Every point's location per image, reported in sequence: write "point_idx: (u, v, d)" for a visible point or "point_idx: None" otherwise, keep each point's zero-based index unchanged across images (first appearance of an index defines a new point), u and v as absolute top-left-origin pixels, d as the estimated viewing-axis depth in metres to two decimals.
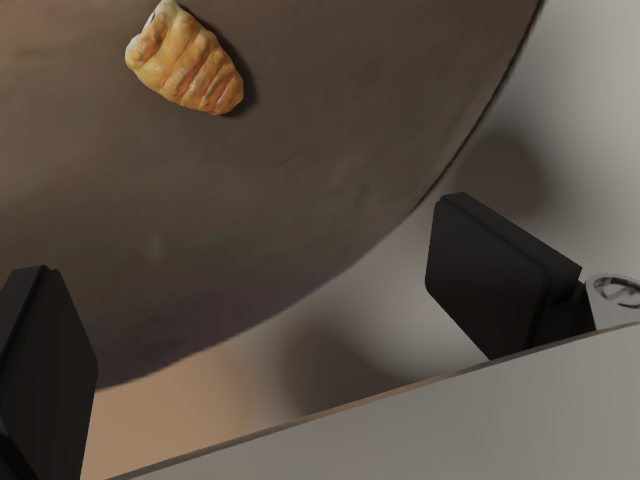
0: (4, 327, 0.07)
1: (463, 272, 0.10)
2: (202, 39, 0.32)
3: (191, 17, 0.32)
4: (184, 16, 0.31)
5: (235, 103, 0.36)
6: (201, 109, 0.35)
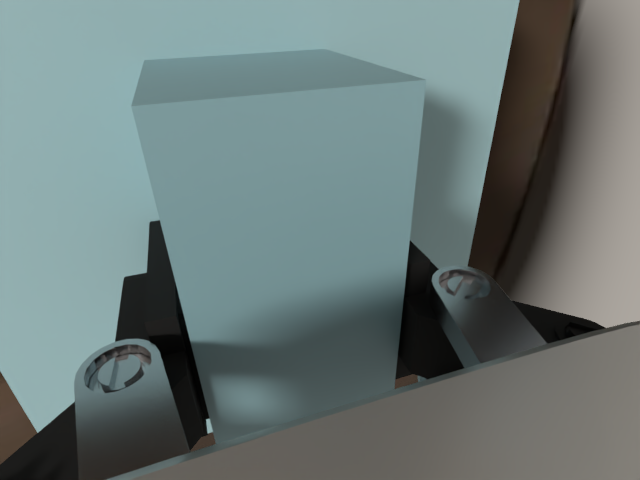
0: (167, 258, 0.08)
1: None
2: None
3: None
4: None
5: None
6: None
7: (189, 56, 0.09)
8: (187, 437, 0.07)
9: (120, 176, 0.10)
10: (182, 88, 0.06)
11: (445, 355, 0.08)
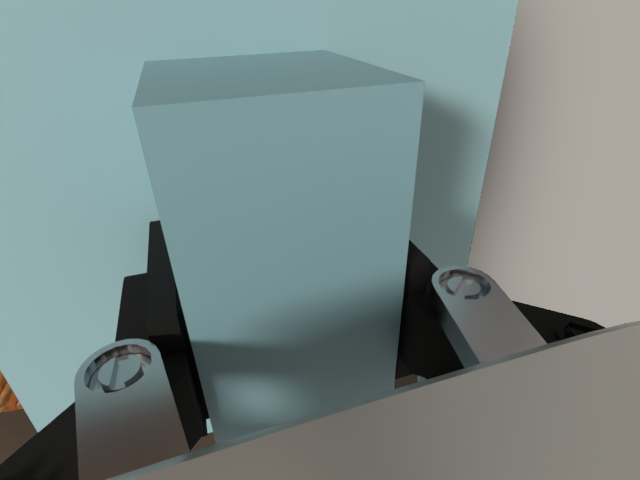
0: (167, 258, 0.08)
1: None
2: None
3: None
4: None
5: None
6: None
7: (189, 57, 0.09)
8: (187, 436, 0.07)
9: (120, 176, 0.10)
10: (182, 89, 0.06)
11: (445, 355, 0.08)
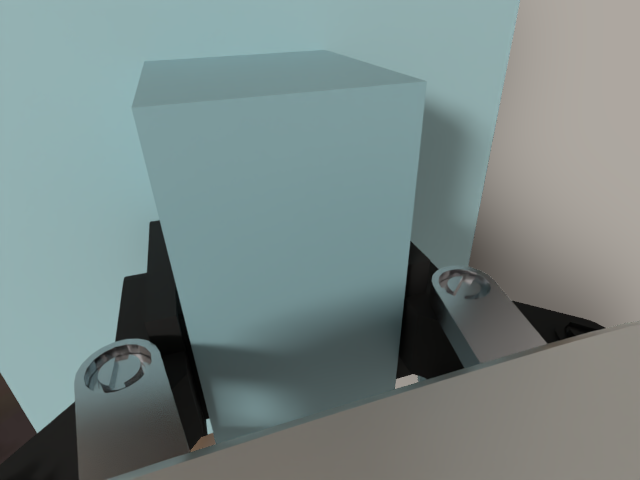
0: (167, 258, 0.08)
1: None
2: None
3: None
4: None
5: None
6: None
7: (189, 57, 0.09)
8: (188, 437, 0.07)
9: (120, 177, 0.10)
10: (182, 89, 0.06)
11: (445, 355, 0.08)
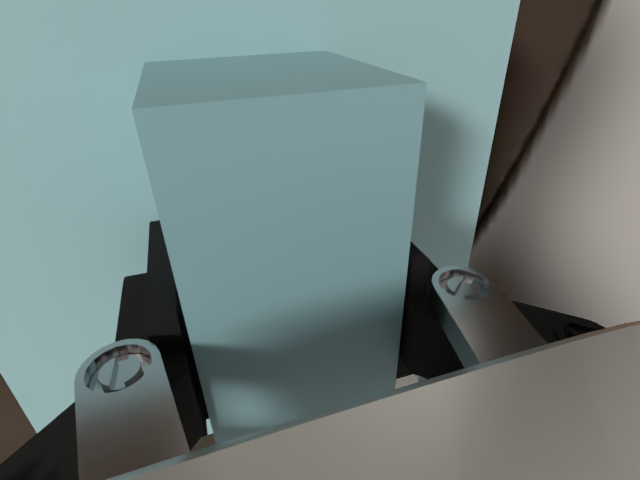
0: (167, 258, 0.08)
1: None
2: None
3: None
4: None
5: None
6: None
7: (189, 58, 0.09)
8: (187, 437, 0.07)
9: (120, 178, 0.10)
10: (182, 91, 0.06)
11: (445, 355, 0.08)
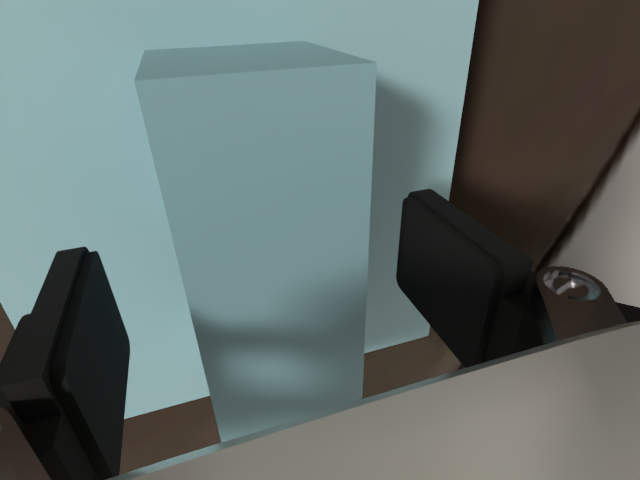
0: (58, 299, 0.07)
1: (428, 267, 0.10)
2: None
3: None
4: None
5: None
6: None
7: (183, 47, 0.10)
8: None
9: (123, 153, 0.11)
10: (175, 69, 0.07)
11: None
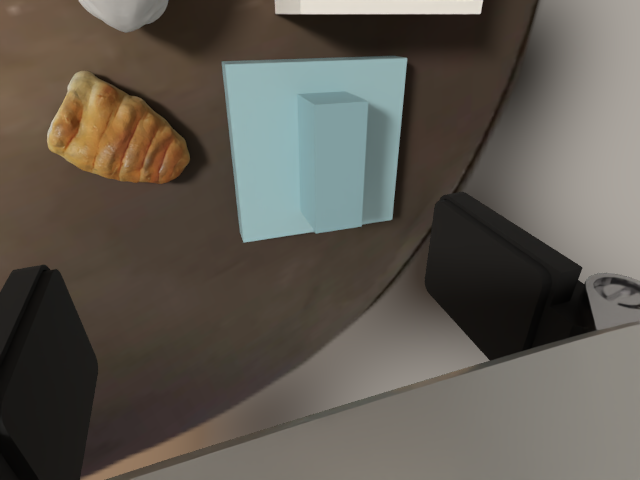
0: (4, 327, 0.07)
1: (463, 272, 0.10)
2: (125, 111, 0.28)
3: (109, 88, 0.28)
4: (101, 88, 0.28)
5: (181, 167, 0.32)
6: (144, 181, 0.32)
7: (308, 93, 0.32)
8: None
9: (285, 126, 0.33)
10: (319, 101, 0.29)
11: None
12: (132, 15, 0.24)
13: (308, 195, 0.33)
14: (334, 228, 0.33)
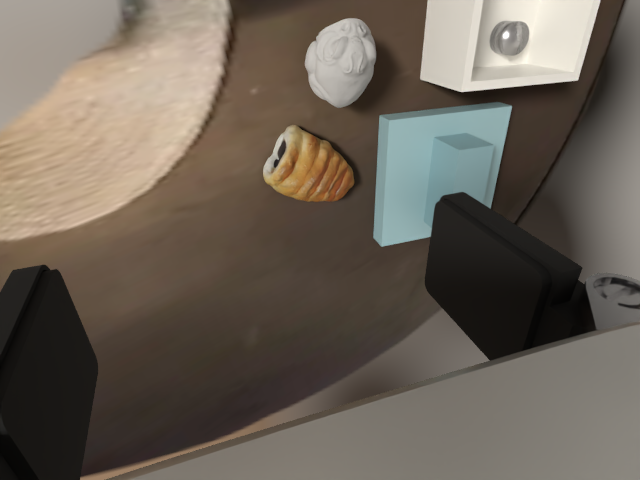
0: (4, 327, 0.07)
1: (463, 272, 0.10)
2: (324, 153, 0.39)
3: (313, 137, 0.39)
4: (309, 138, 0.39)
5: (348, 188, 0.43)
6: (323, 200, 0.43)
7: (441, 135, 0.43)
8: None
9: (422, 160, 0.44)
10: (459, 146, 0.40)
11: None
12: (350, 98, 0.35)
13: None
14: None
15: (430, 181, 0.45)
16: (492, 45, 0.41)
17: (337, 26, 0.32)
